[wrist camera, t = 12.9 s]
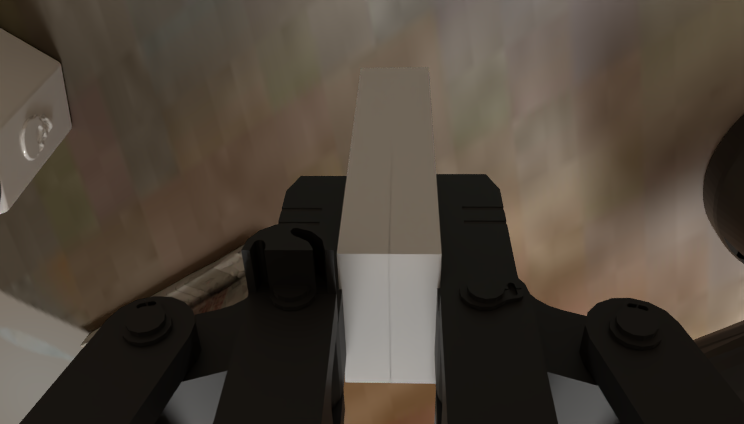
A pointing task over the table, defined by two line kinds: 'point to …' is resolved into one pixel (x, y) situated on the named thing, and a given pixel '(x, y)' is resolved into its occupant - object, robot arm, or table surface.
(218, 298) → the packaged product
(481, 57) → the table surface
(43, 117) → the jar
